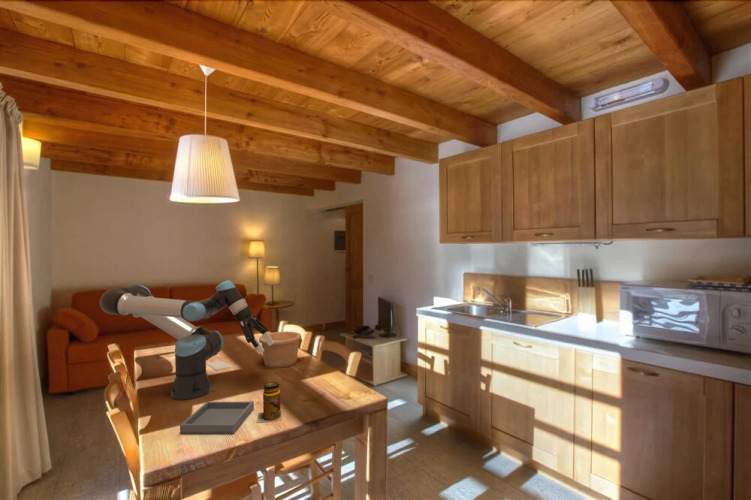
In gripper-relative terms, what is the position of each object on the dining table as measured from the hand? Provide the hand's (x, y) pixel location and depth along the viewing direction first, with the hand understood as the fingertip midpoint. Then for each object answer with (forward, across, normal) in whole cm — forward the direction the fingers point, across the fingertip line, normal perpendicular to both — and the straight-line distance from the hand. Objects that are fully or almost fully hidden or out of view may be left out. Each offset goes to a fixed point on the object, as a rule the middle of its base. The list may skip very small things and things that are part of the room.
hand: (267, 348), depth 163 cm
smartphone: (-6, +22, +37) cm, 43 cm away
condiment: (+20, -34, -2) cm, 40 cm away
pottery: (+11, +26, +10) cm, 30 cm away
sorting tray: (+10, -38, +12) cm, 41 cm away
